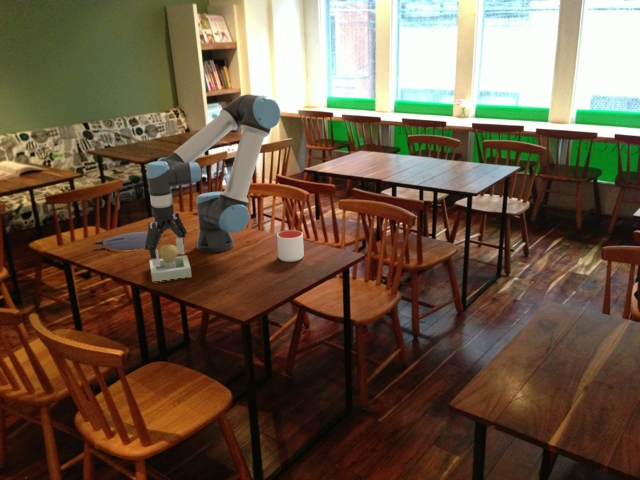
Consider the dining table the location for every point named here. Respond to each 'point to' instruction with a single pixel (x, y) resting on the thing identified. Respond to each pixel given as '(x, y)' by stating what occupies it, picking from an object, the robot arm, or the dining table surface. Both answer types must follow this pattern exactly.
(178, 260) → the tray
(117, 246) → the toy spaceship
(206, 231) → the robot arm
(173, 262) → the light bulb
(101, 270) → the dining table surface
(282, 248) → the cup
